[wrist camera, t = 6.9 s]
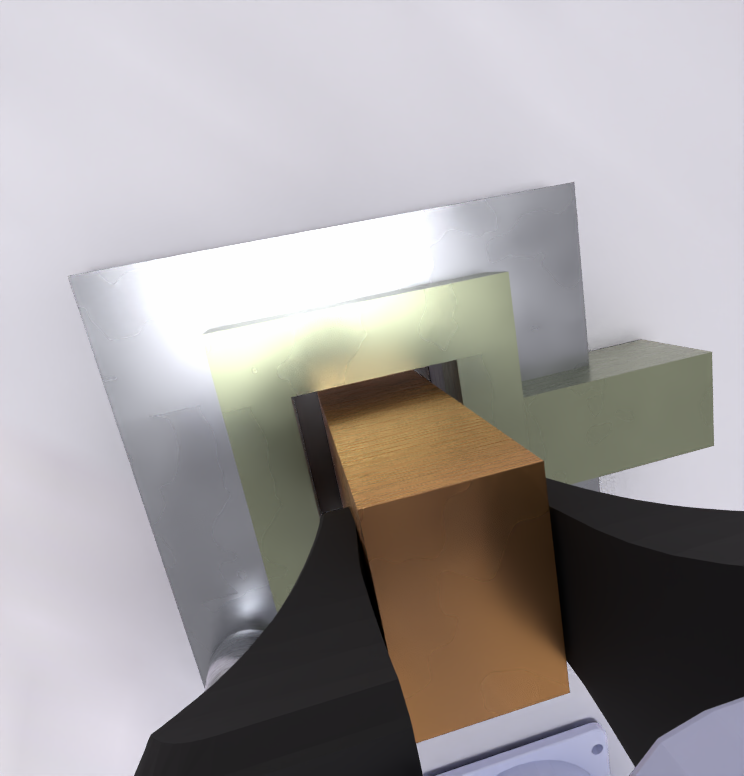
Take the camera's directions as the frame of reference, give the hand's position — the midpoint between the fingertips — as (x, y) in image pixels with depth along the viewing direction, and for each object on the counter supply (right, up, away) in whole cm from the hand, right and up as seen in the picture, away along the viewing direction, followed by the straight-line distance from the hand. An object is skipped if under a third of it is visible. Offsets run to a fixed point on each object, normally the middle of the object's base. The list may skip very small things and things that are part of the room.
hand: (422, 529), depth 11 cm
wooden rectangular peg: (-1, +1, +5) cm, 5 cm away
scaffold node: (0, +2, +6) cm, 6 cm away
